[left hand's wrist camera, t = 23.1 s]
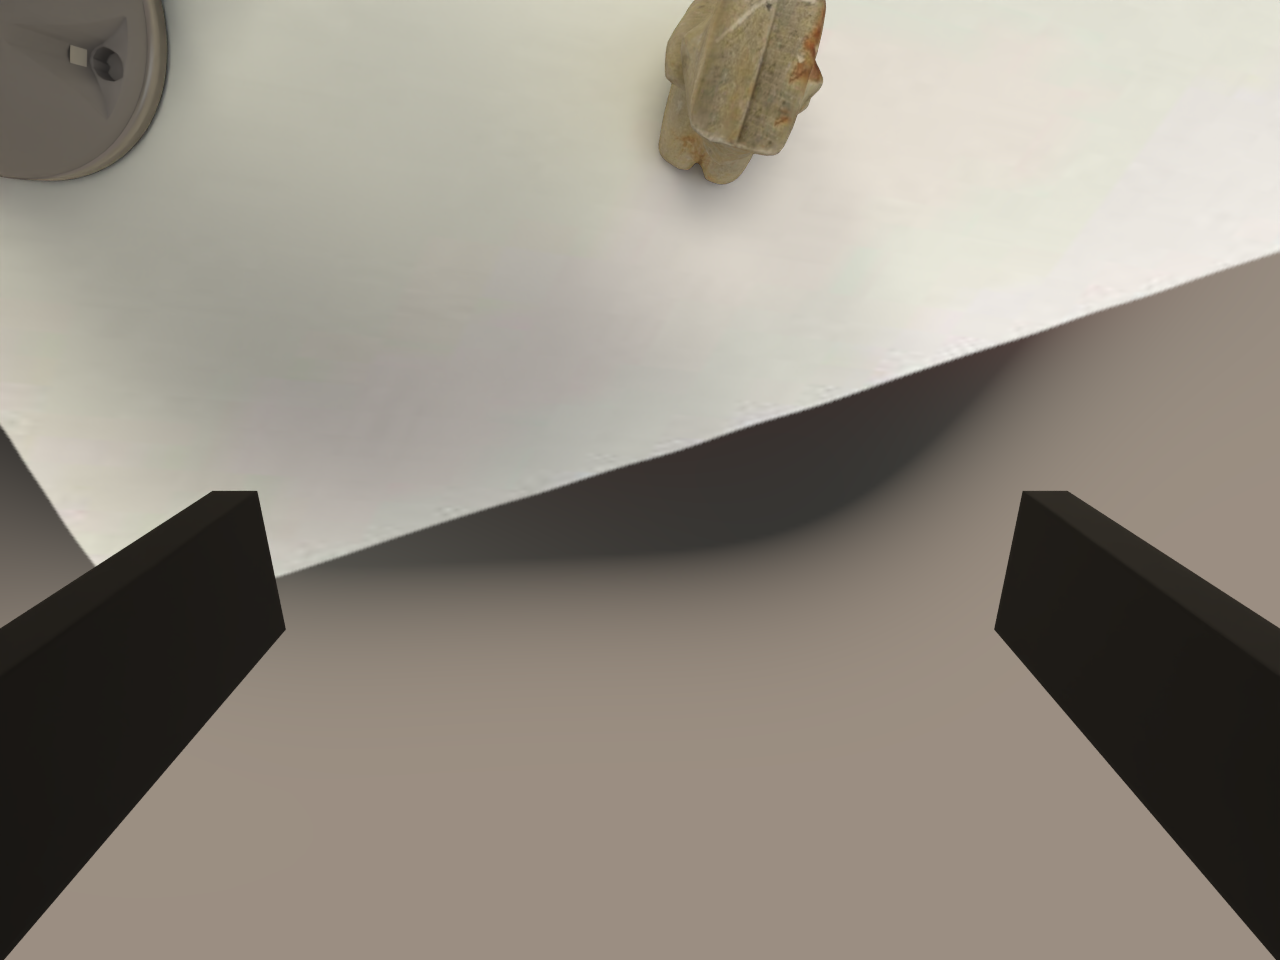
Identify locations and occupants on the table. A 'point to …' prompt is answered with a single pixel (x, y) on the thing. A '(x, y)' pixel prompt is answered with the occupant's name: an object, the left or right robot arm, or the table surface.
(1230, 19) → the table surface
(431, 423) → the table surface
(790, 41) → the sculpture
